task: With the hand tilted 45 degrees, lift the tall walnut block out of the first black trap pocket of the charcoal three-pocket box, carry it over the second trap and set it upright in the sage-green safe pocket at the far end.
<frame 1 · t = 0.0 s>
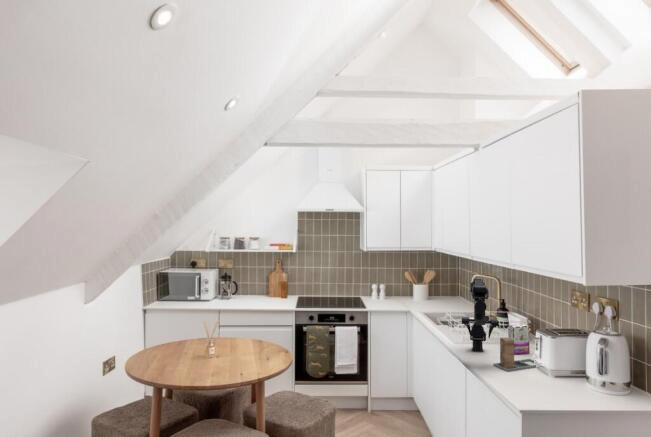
hand: (479, 337, 228), 15 cm above the worktop, tool pointing down, fingers open, 9 cm apart
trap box: (518, 366, 225), on the worktop
walnut block: (507, 367, 222), resting on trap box
candy bar box: (518, 353, 249), on the worktop
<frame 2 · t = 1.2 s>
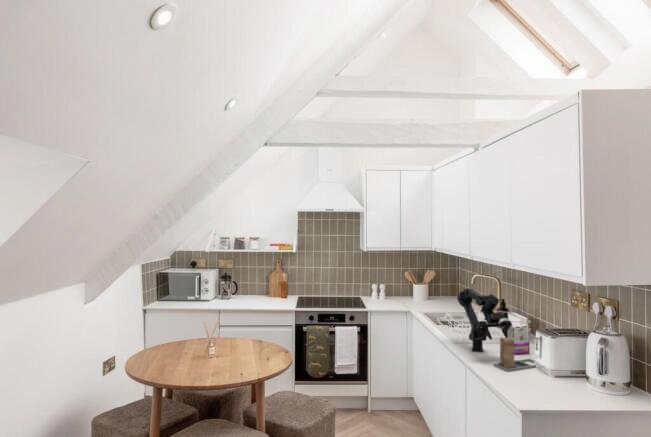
hand: (499, 339, 230), 13 cm above the worktop, tool tilted 45°, fingers open, 9 cm apart
nothing on the worktop moved.
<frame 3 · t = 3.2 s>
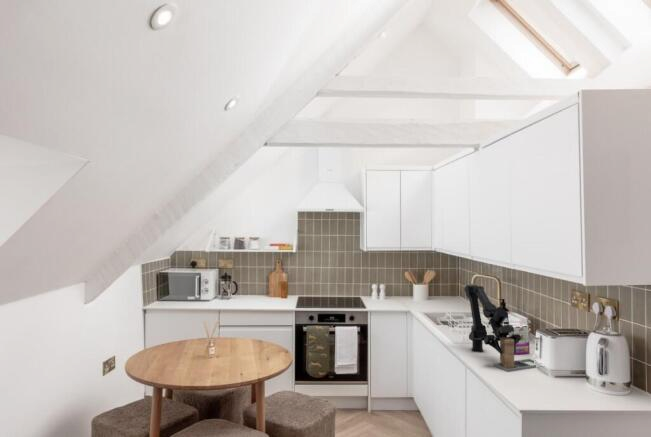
hand: (508, 353, 221), 8 cm above the worktop, tool tilted 45°, fingers open, 7 cm apart
walnut block: (507, 367, 222), resting on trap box, touching gripper
everything else where it was.
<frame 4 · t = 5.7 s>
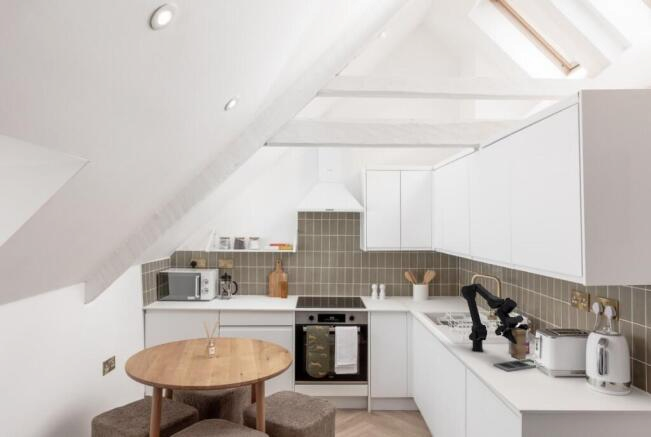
hand: (520, 343, 222), 13 cm above the worktop, tool tilted 45°, fingers closed on walnut block, 5 cm apart
walnut block: (518, 357, 224), point 5 cm above the worktop, touching gripper
everything else where it was.
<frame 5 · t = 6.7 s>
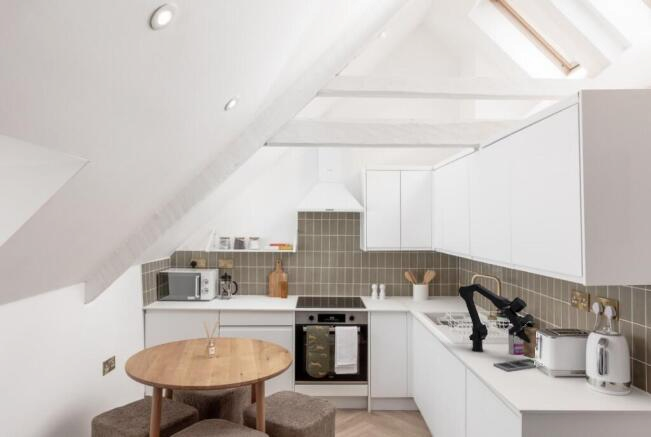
hand: (532, 342, 227), 13 cm above the worktop, tool tilted 45°, fingers closed on walnut block, 5 cm apart
walnut block: (530, 356, 228), point 5 cm above the worktop, touching gripper
everything else where it was.
when the fingers open (9 cm above the worktop, at t = 7.7 s): walnut block drops 1 cm, resting on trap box.
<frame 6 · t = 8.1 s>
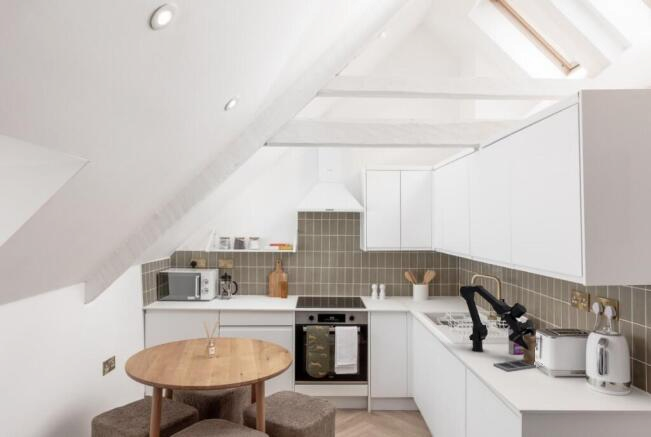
hand: (532, 347, 227), 10 cm above the worktop, tool tilted 45°, fingers open, 9 cm apart
walnut block: (530, 364, 228), resting on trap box
everything else where it was.
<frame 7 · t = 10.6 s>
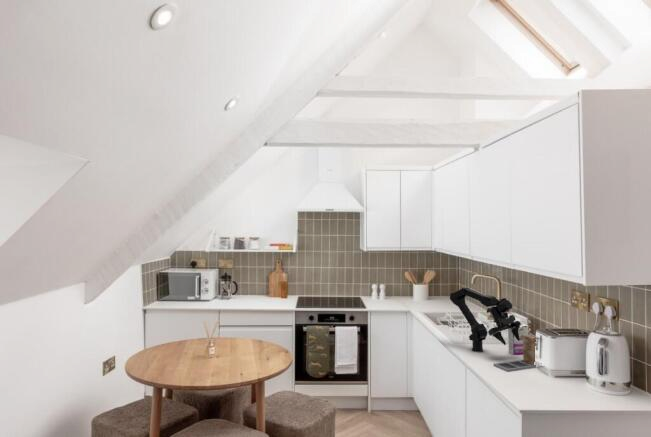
hand: (512, 342, 235), 10 cm above the worktop, tool tilted 35°, fingers open, 9 cm apart
nothing on the worktop moved.
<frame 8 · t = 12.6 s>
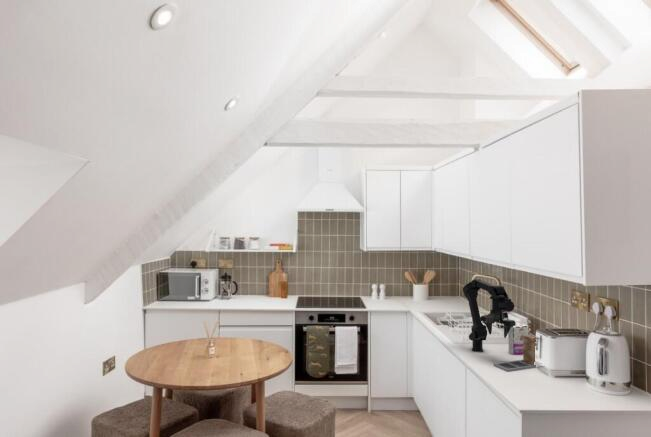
hand: (497, 336, 238), 13 cm above the worktop, tool pointing down, fingers open, 9 cm apart
nothing on the worktop moved.
at the end: walnut block 0.0 cm from the target spot, resting on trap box; walnut block tilted 0°; the gripper is holding nothing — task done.
